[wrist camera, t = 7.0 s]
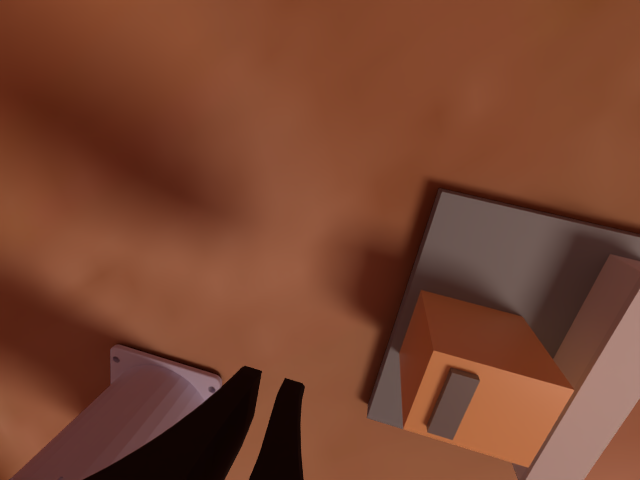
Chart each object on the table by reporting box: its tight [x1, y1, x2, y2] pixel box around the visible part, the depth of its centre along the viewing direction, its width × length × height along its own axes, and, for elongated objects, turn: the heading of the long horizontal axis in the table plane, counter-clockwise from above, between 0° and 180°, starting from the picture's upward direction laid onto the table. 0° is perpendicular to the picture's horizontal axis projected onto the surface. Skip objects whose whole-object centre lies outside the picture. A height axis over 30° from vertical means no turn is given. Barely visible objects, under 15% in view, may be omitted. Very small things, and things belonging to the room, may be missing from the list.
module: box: [399, 290, 574, 468], centre depth 15 cm, size 4×5×5 cm
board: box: [367, 188, 640, 480], centre depth 17 cm, size 14×11×4 cm
